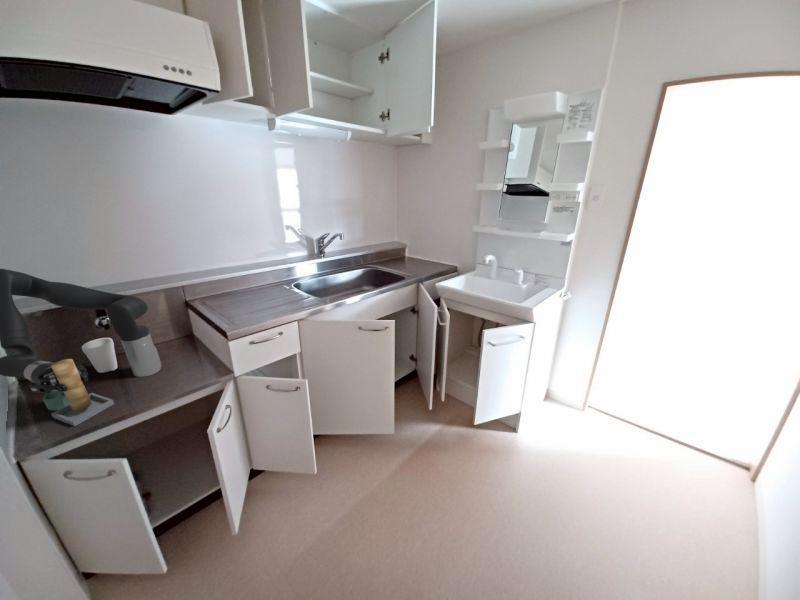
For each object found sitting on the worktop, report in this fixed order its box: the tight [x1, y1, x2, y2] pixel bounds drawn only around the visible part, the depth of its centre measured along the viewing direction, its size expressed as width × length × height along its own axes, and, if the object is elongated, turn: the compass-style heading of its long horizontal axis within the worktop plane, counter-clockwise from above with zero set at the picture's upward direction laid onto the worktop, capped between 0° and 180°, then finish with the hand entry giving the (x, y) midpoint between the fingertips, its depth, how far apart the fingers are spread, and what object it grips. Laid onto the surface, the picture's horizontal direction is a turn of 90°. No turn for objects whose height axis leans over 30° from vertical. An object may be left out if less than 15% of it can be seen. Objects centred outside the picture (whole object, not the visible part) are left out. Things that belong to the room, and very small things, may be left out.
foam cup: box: [81, 337, 118, 374], centre depth 131 cm, size 10×9×13 cm
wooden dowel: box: [51, 358, 92, 411], centre depth 105 cm, size 5×5×18 cm
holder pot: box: [41, 390, 69, 411], centre depth 112 cm, size 8×8×5 cm
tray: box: [50, 392, 115, 427], centre depth 109 cm, size 12×12×2 cm
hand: (75, 383), depth 104 cm, fingers closed on wooden dowel, 5 cm apart
